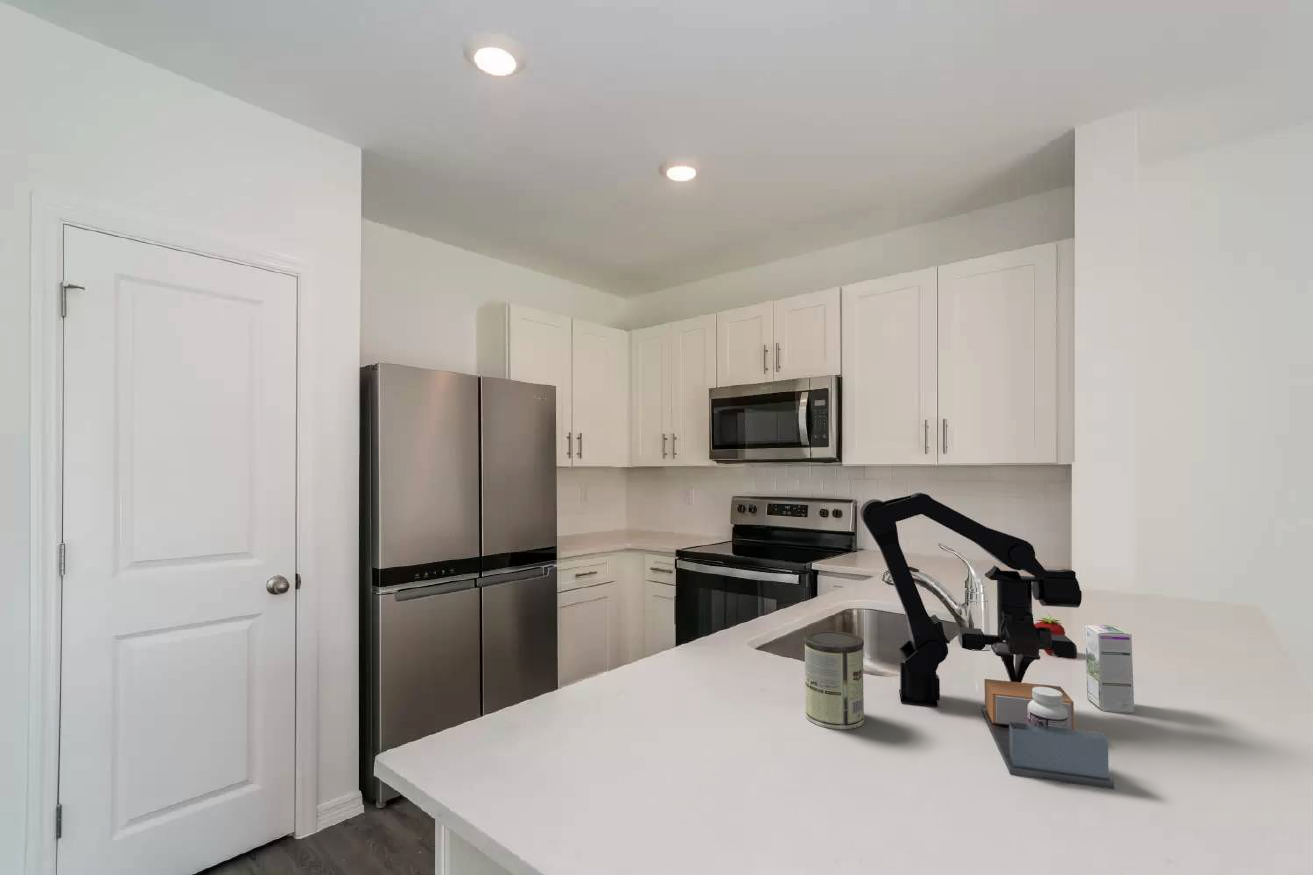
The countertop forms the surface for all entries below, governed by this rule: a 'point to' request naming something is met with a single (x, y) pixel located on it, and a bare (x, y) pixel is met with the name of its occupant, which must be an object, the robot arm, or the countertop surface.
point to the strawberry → (1051, 628)
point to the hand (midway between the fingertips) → (1015, 688)
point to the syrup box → (1109, 668)
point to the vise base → (1052, 753)
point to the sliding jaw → (1017, 701)
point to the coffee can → (834, 679)
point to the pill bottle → (1047, 708)
